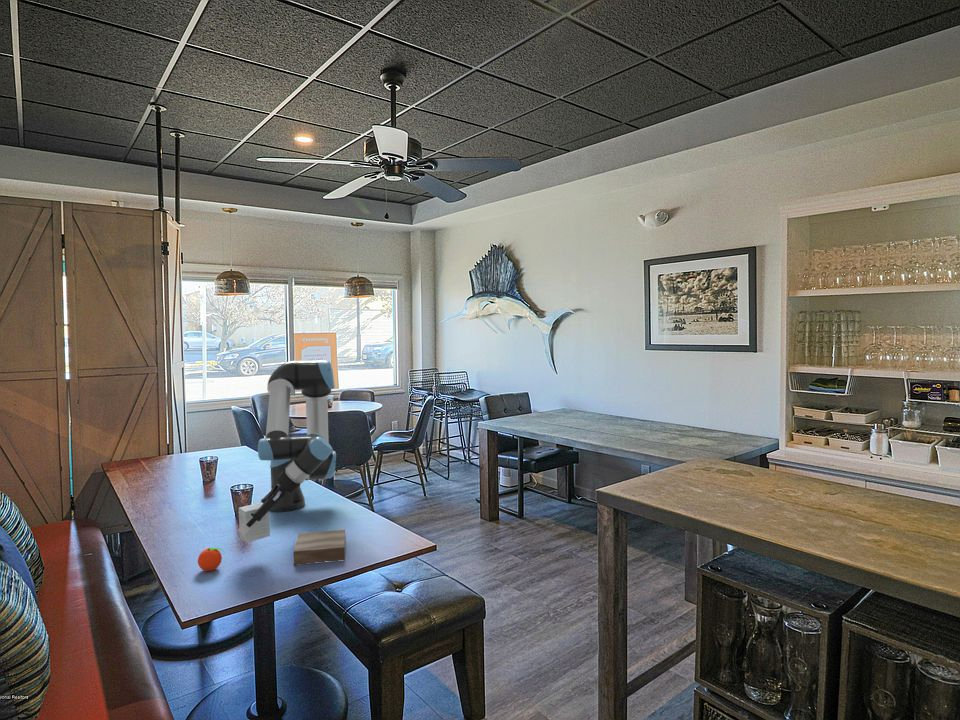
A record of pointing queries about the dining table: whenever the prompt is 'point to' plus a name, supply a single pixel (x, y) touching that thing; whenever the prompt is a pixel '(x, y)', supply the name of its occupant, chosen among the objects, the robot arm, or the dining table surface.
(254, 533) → the small box
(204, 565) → the clementine
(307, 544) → the walnut block
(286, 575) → the dining table surface
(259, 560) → the dining table surface
